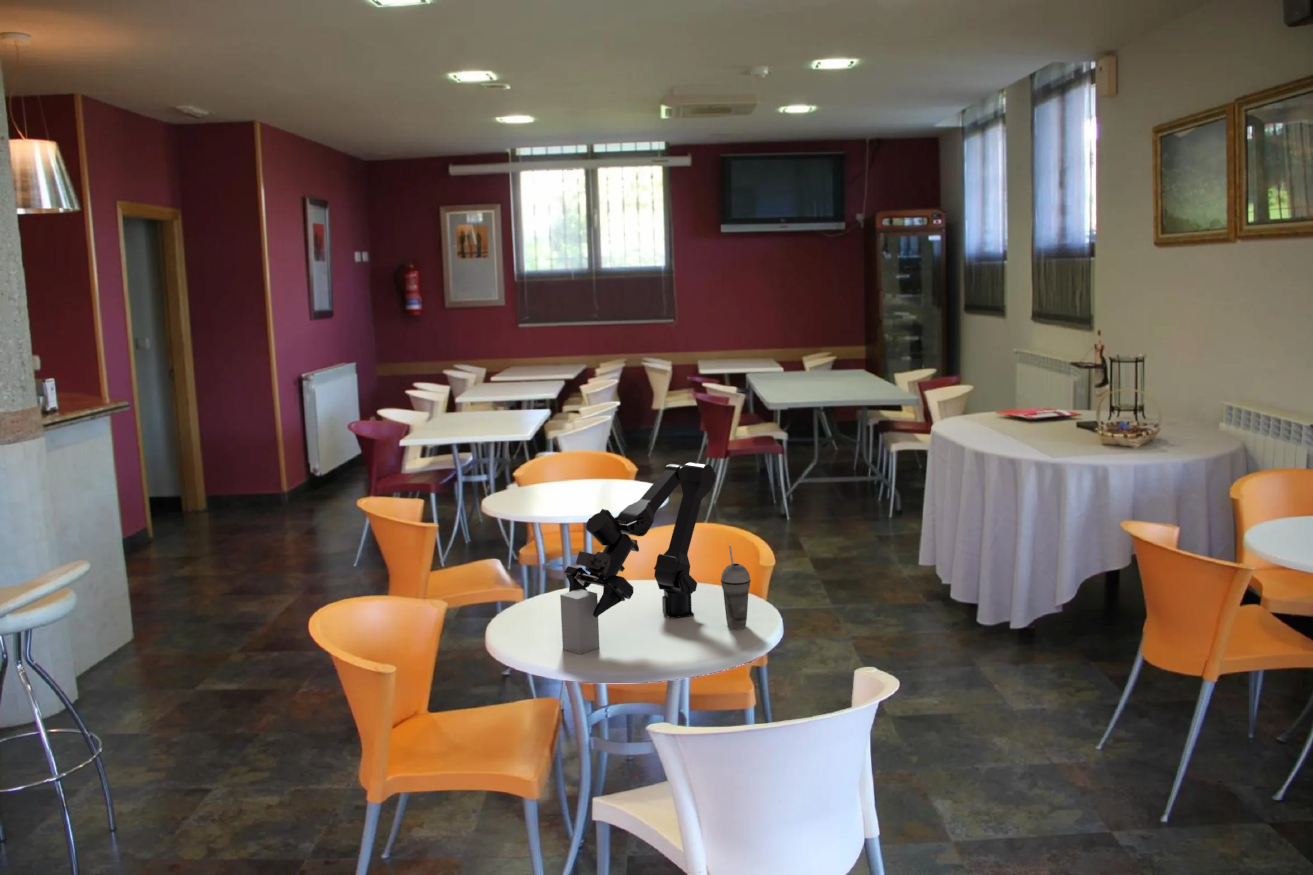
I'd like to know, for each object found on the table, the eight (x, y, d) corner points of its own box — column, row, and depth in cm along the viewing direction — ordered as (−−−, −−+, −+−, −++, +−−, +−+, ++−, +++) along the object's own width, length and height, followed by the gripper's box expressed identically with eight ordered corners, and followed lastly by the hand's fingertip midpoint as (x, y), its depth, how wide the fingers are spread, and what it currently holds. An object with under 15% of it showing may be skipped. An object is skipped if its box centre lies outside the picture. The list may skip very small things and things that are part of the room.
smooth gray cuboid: (581, 642, 255) (579, 588, 253) (599, 647, 251) (597, 593, 249) (562, 648, 250) (560, 594, 249) (580, 654, 246) (577, 599, 244)
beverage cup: (749, 631, 258) (748, 550, 256) (719, 630, 260) (717, 549, 257) (753, 622, 266) (751, 542, 263) (723, 621, 267) (722, 542, 264)
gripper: (568, 531, 257) (534, 586, 251) (623, 543, 245) (589, 601, 238) (593, 557, 264) (561, 611, 258) (648, 569, 251) (615, 627, 245)
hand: (580, 612), depth 250 cm, fingers open, 9 cm apart
